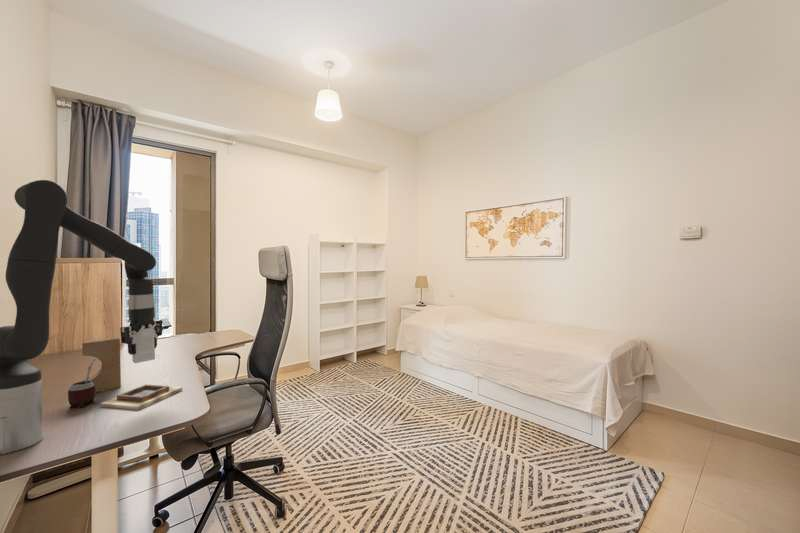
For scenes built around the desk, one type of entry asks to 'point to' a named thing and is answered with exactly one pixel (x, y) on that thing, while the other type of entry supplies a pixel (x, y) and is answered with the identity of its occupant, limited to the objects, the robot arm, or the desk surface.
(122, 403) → the tan wooden flat frame
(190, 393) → the desk surface
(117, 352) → the decorative block
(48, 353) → the desk surface
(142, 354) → the skincare box
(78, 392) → the mate gourd
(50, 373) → the desk surface
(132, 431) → the desk surface
